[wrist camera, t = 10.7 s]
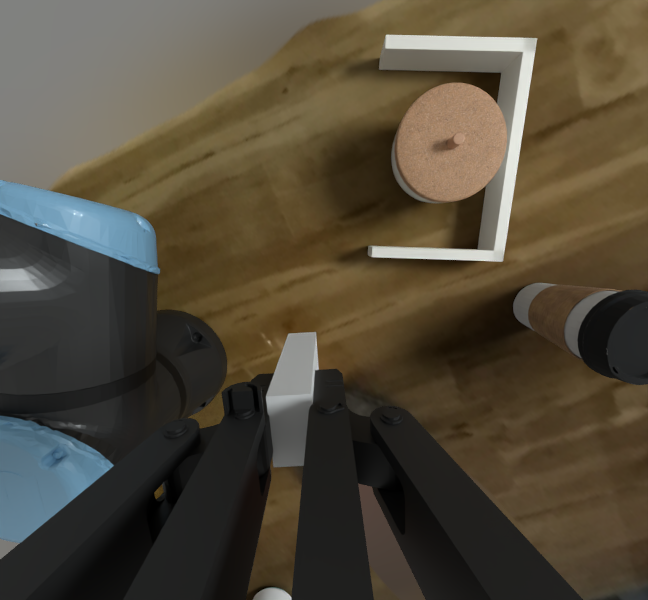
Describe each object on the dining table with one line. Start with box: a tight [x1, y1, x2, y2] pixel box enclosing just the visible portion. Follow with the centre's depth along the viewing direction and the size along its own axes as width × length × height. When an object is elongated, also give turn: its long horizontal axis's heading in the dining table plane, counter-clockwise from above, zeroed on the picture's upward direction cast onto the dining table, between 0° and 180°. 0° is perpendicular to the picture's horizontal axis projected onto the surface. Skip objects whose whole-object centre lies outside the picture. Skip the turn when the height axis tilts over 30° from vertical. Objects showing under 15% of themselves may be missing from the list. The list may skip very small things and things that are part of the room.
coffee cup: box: [513, 283, 648, 385], centre depth 33 cm, size 8×8×15 cm
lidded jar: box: [391, 83, 507, 203], centre depth 32 cm, size 11×11×9 cm
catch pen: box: [368, 35, 537, 261], centre depth 35 cm, size 15×22×4 cm
